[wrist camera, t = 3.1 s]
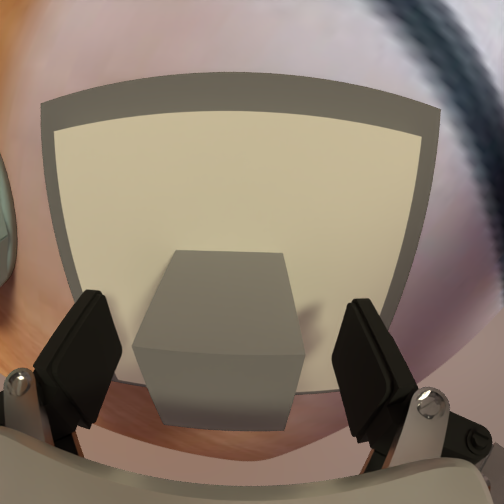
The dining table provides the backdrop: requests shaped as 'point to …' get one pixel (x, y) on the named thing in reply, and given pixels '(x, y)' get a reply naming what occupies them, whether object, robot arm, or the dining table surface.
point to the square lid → (233, 249)
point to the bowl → (6, 227)
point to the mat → (258, 100)
